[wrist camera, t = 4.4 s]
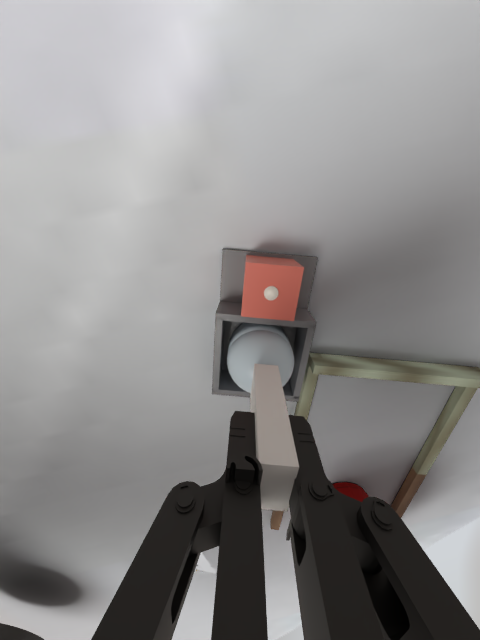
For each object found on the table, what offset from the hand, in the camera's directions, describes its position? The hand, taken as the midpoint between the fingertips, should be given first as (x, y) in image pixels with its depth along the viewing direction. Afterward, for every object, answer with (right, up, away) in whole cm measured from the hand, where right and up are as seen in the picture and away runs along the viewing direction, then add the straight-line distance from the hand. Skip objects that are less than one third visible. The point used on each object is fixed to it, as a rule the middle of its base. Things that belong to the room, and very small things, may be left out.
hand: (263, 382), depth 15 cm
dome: (0, +2, +5) cm, 5 cm away
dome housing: (0, +4, +4) cm, 6 cm away
